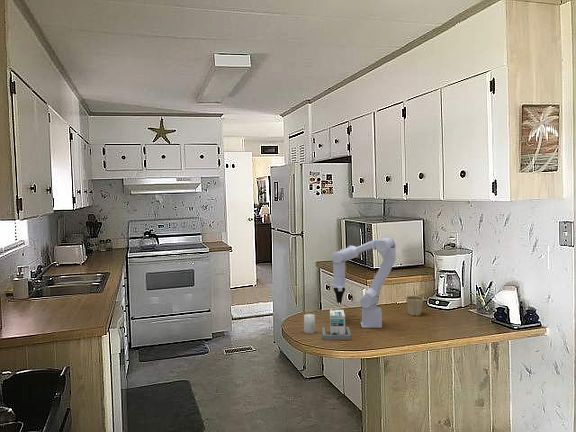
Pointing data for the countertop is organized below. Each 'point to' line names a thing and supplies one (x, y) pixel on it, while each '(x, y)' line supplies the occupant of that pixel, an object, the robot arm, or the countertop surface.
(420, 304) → the flower pot
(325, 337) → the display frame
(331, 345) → the countertop surface
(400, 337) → the countertop surface
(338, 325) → the light bulb box
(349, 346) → the countertop surface
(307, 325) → the white cylinder
